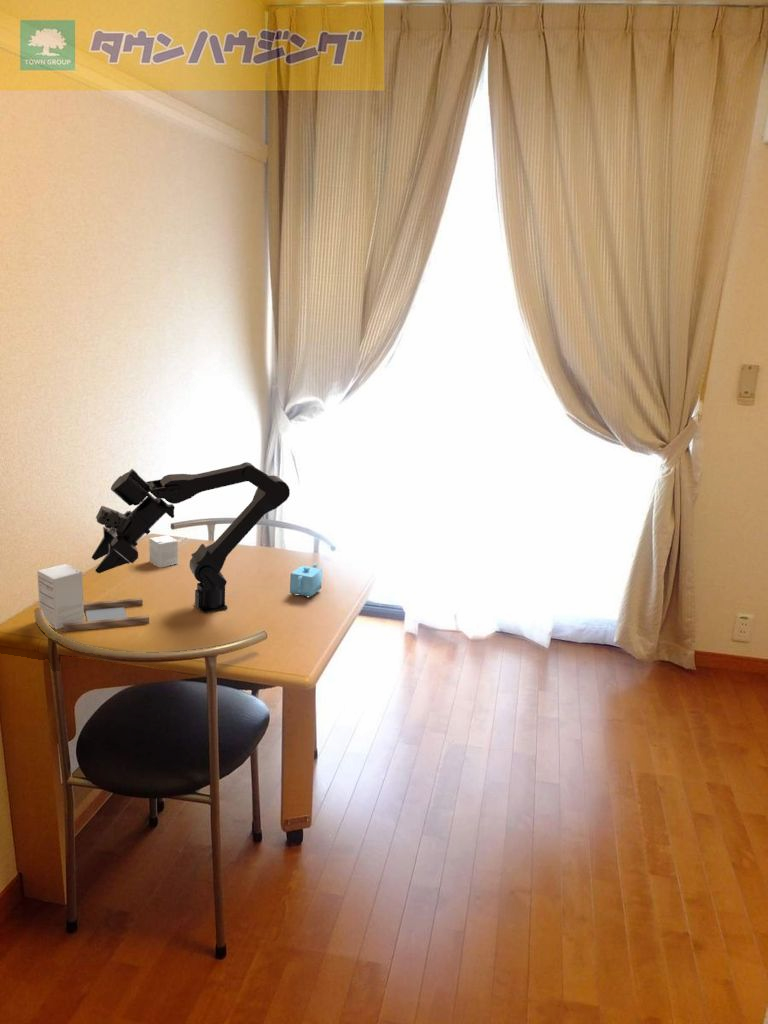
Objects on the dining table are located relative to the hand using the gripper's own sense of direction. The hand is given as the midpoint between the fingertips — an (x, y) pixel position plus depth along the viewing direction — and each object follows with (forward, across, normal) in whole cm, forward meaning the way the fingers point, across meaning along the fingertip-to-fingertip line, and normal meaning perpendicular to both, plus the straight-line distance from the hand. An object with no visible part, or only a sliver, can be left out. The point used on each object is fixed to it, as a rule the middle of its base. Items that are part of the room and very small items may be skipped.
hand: (94, 565), depth 190 cm
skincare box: (-6, -34, +25) cm, 43 cm away
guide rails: (+8, 0, +11) cm, 13 cm away
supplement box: (+15, 0, +4) cm, 16 cm away
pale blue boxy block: (-29, -4, +48) cm, 56 cm away
